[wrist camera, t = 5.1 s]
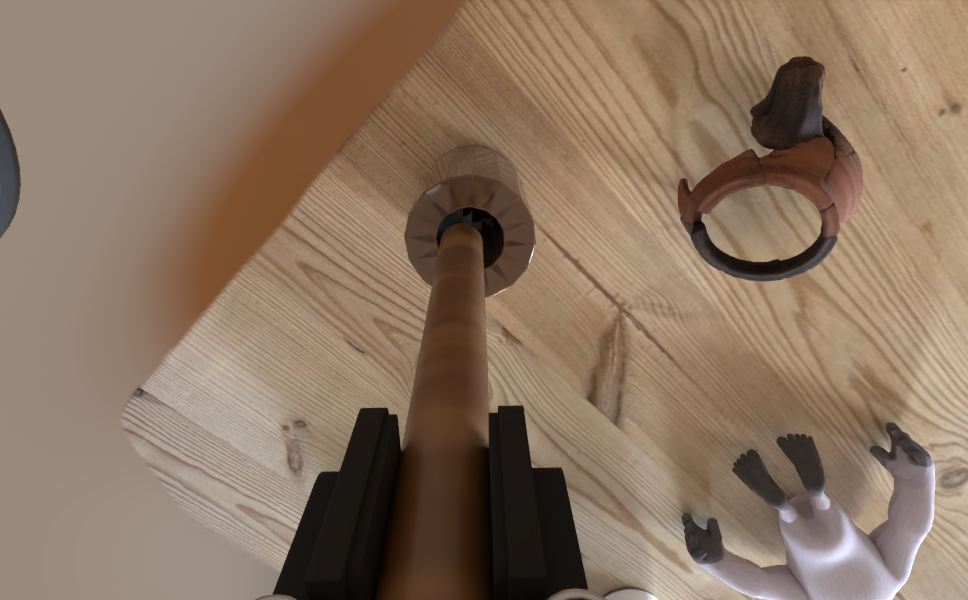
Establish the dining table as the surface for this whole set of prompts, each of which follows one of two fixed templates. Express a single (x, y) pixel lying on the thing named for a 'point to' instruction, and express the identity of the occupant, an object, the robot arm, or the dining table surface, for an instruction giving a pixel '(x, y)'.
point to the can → (630, 595)
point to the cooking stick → (445, 444)
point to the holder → (473, 215)
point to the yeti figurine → (827, 529)
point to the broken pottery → (783, 172)
